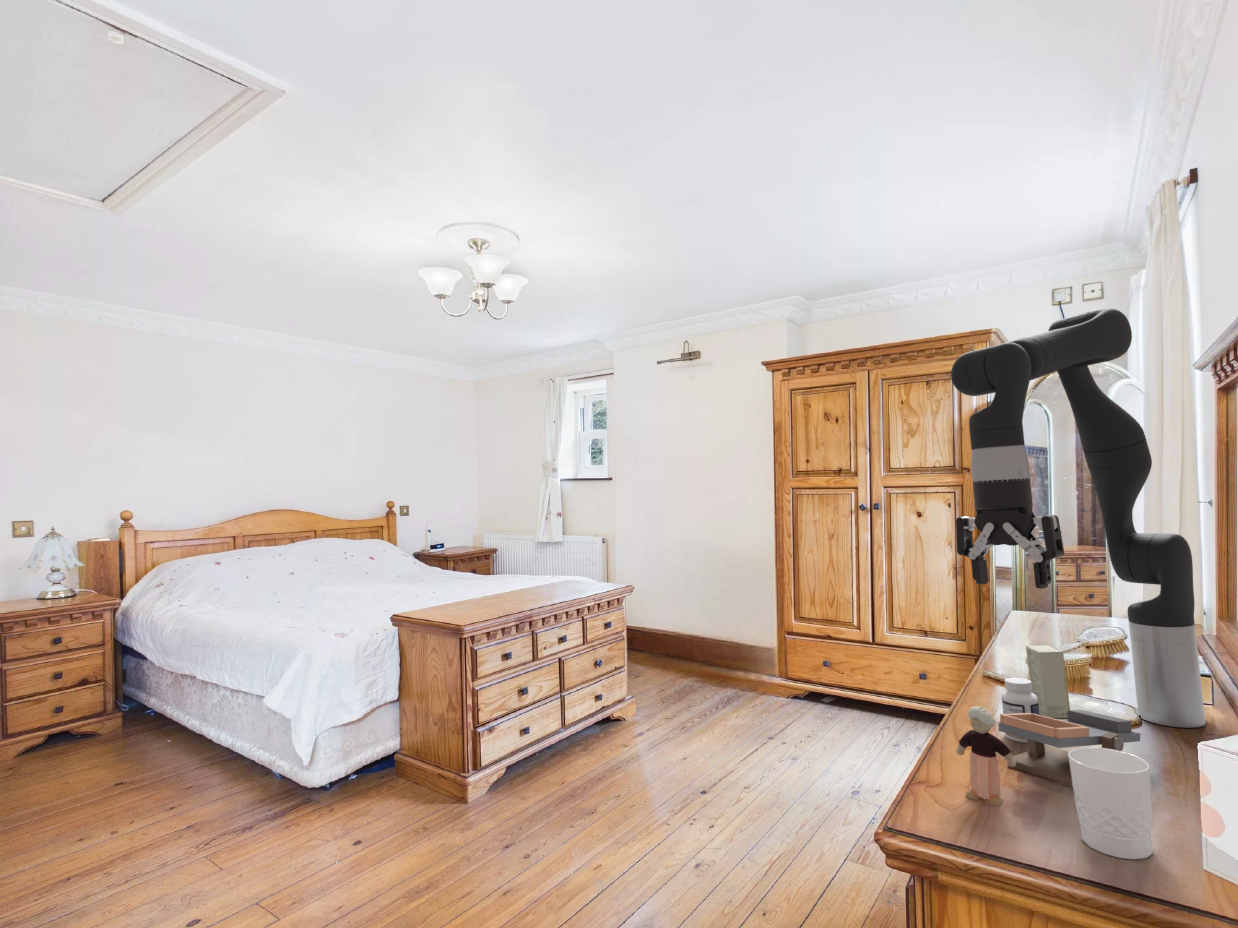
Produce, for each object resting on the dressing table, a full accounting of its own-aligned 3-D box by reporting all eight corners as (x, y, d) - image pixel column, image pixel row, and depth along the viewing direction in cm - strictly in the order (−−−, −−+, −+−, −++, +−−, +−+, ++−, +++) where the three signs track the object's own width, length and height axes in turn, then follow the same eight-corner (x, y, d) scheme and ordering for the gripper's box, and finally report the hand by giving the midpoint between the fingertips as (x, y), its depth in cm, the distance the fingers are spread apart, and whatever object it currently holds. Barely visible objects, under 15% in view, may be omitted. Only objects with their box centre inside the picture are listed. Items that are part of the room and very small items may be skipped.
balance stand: (1044, 750, 105) (1039, 706, 106) (1146, 780, 93) (1141, 730, 93) (1007, 765, 100) (1003, 719, 101) (1110, 799, 88) (1105, 746, 89)
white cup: (1164, 869, 72) (1155, 777, 72) (1078, 852, 76) (1069, 765, 77) (1152, 836, 78) (1143, 752, 79) (1073, 823, 83) (1066, 743, 83)
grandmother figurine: (954, 798, 91) (947, 706, 92) (961, 788, 94) (953, 699, 95) (1018, 812, 86) (1009, 715, 87) (1022, 801, 89) (1014, 707, 90)
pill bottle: (1031, 732, 113) (1026, 675, 114) (1048, 743, 108) (1043, 684, 109) (999, 732, 114) (994, 676, 115) (1014, 744, 109) (1009, 685, 109)
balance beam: (1079, 726, 106) (1079, 708, 106) (1140, 741, 98) (1140, 722, 99) (998, 730, 96) (998, 711, 96) (1058, 747, 88) (1058, 726, 89)
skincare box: (1071, 718, 119) (1065, 651, 119) (1045, 718, 120) (1038, 652, 120) (1056, 708, 125) (1050, 644, 126) (1030, 707, 126) (1024, 644, 126)
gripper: (1064, 473, 94) (1076, 586, 93) (967, 479, 106) (977, 579, 105) (1039, 475, 90) (1051, 593, 89) (941, 481, 102) (950, 585, 101)
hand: (1011, 585), depth 97 cm, fingers open, 8 cm apart
